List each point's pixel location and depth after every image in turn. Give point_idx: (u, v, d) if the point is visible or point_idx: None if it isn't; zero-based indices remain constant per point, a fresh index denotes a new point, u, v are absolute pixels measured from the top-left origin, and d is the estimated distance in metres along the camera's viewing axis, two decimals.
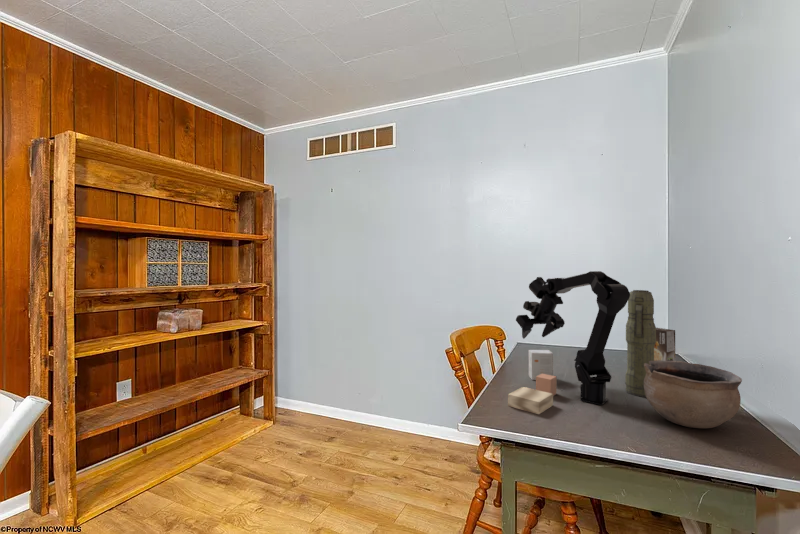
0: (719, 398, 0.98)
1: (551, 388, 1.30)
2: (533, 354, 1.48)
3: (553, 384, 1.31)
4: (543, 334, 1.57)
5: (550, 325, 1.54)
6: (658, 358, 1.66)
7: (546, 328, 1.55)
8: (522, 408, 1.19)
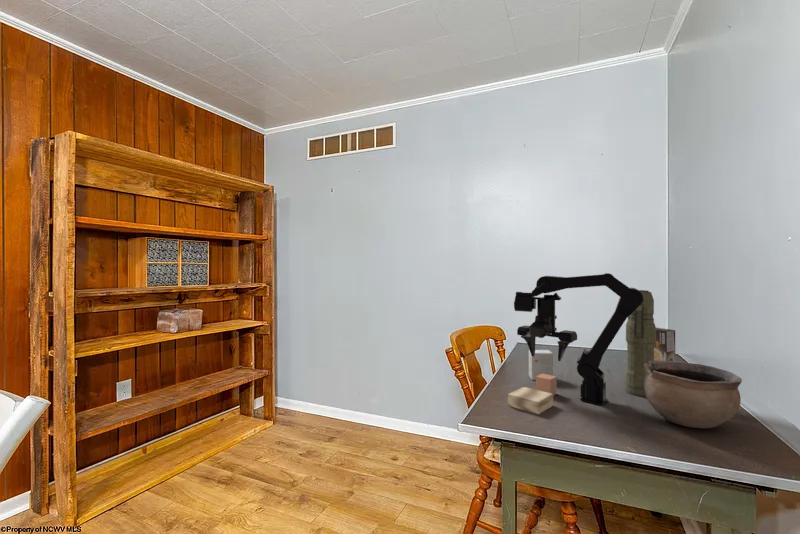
0: (719, 398, 0.98)
1: (551, 388, 1.30)
2: None
3: (553, 384, 1.31)
4: (533, 353, 1.36)
5: (532, 337, 1.37)
6: (658, 358, 1.66)
7: (532, 344, 1.36)
8: (522, 408, 1.19)
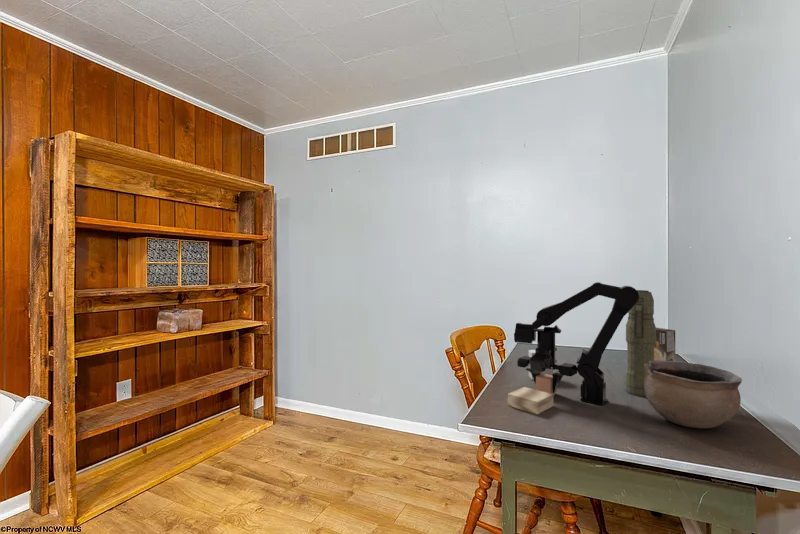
0: (719, 398, 0.98)
1: (551, 387, 1.30)
2: (533, 354, 1.48)
3: None
4: None
5: None
6: (658, 358, 1.66)
7: None
8: (521, 408, 1.19)
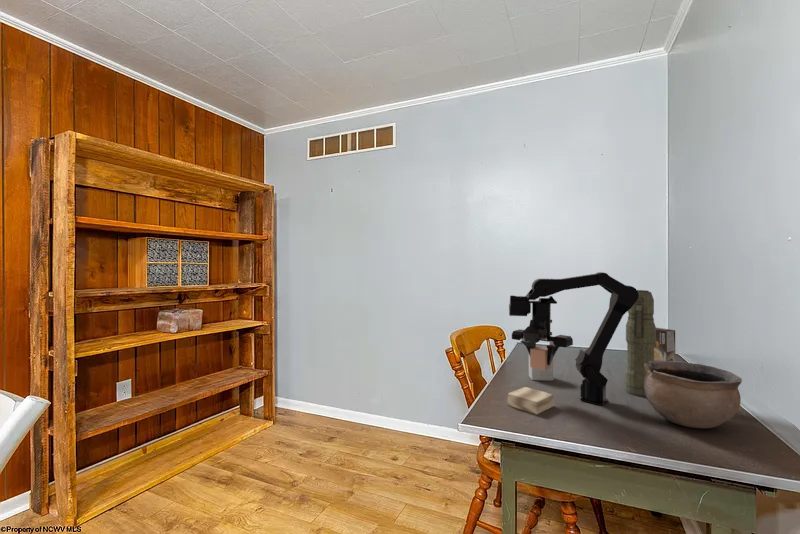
0: (719, 398, 0.98)
1: (546, 360, 1.27)
2: None
3: None
4: None
5: (533, 342, 1.32)
6: (658, 358, 1.66)
7: None
8: (521, 408, 1.19)
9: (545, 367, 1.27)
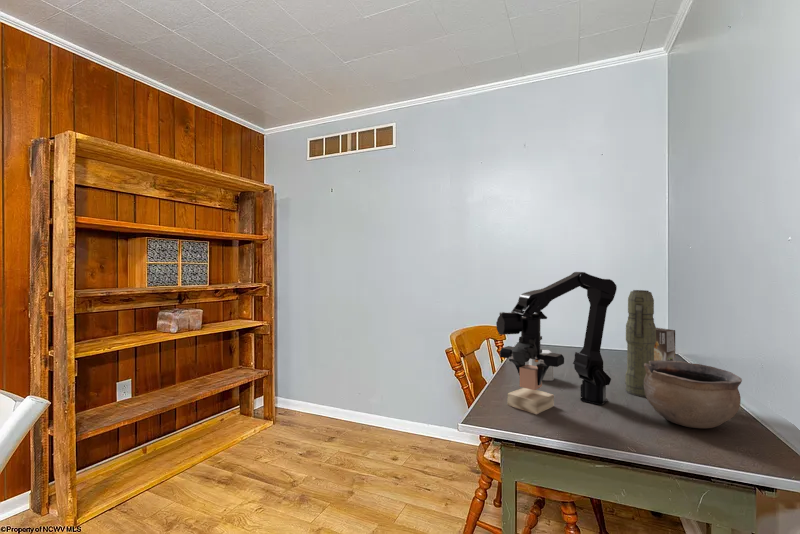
0: (719, 398, 0.98)
1: (536, 379, 1.20)
2: None
3: None
4: None
5: (522, 360, 1.25)
6: (658, 358, 1.66)
7: None
8: (520, 407, 1.19)
9: (535, 387, 1.19)
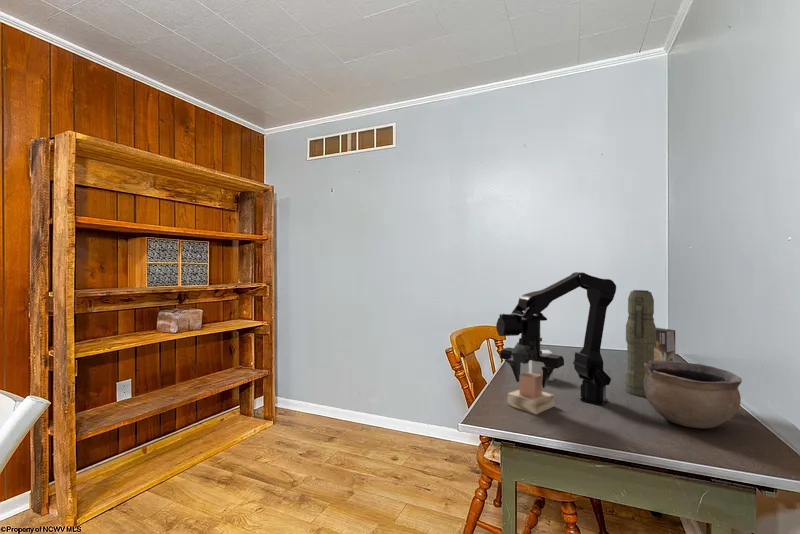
0: (719, 398, 0.98)
1: (536, 387, 1.20)
2: None
3: (538, 384, 1.21)
4: (518, 378, 1.25)
5: None
6: (658, 358, 1.66)
7: (517, 369, 1.25)
8: (520, 408, 1.19)
9: (535, 395, 1.19)
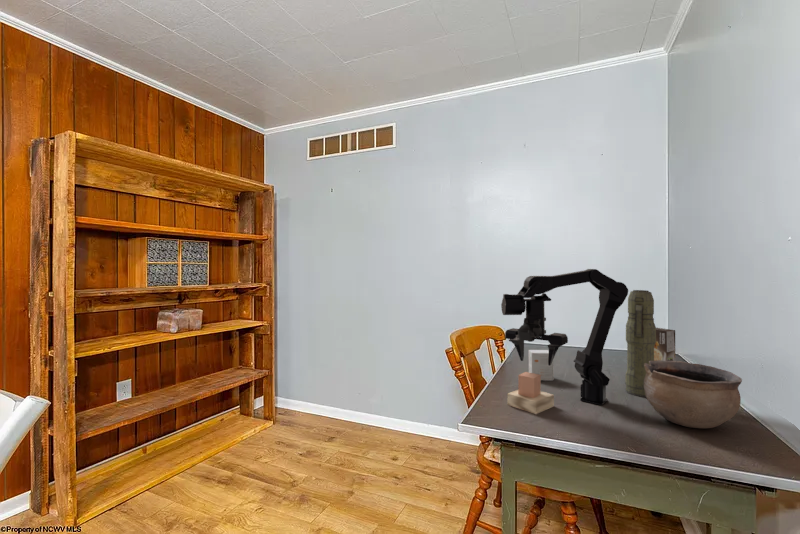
0: (719, 398, 0.98)
1: (535, 387, 1.20)
2: (533, 354, 1.48)
3: (537, 383, 1.21)
4: (522, 357, 1.30)
5: (521, 340, 1.31)
6: (658, 358, 1.66)
7: (521, 348, 1.30)
8: (520, 407, 1.19)
9: (534, 395, 1.19)
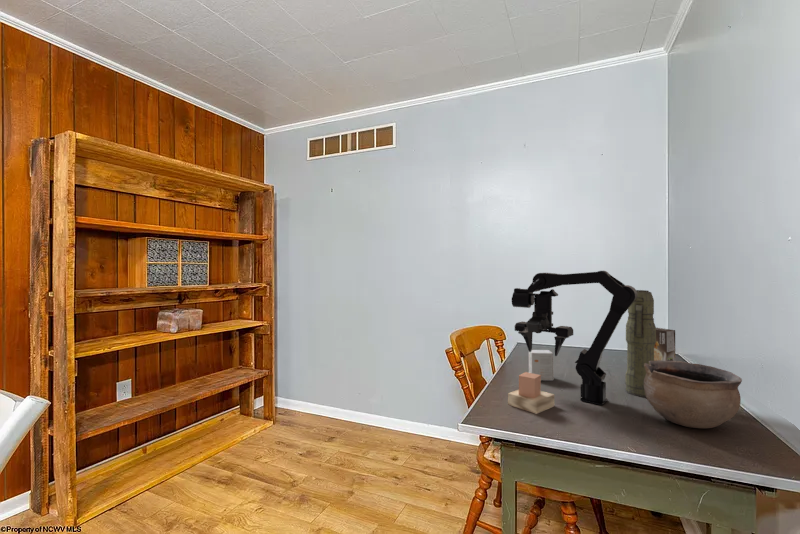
0: (719, 398, 0.98)
1: (536, 387, 1.19)
2: (533, 354, 1.48)
3: (537, 384, 1.20)
4: (530, 348, 1.39)
5: (529, 333, 1.40)
6: (658, 358, 1.66)
7: (529, 340, 1.39)
8: (521, 407, 1.20)
9: (535, 395, 1.19)
